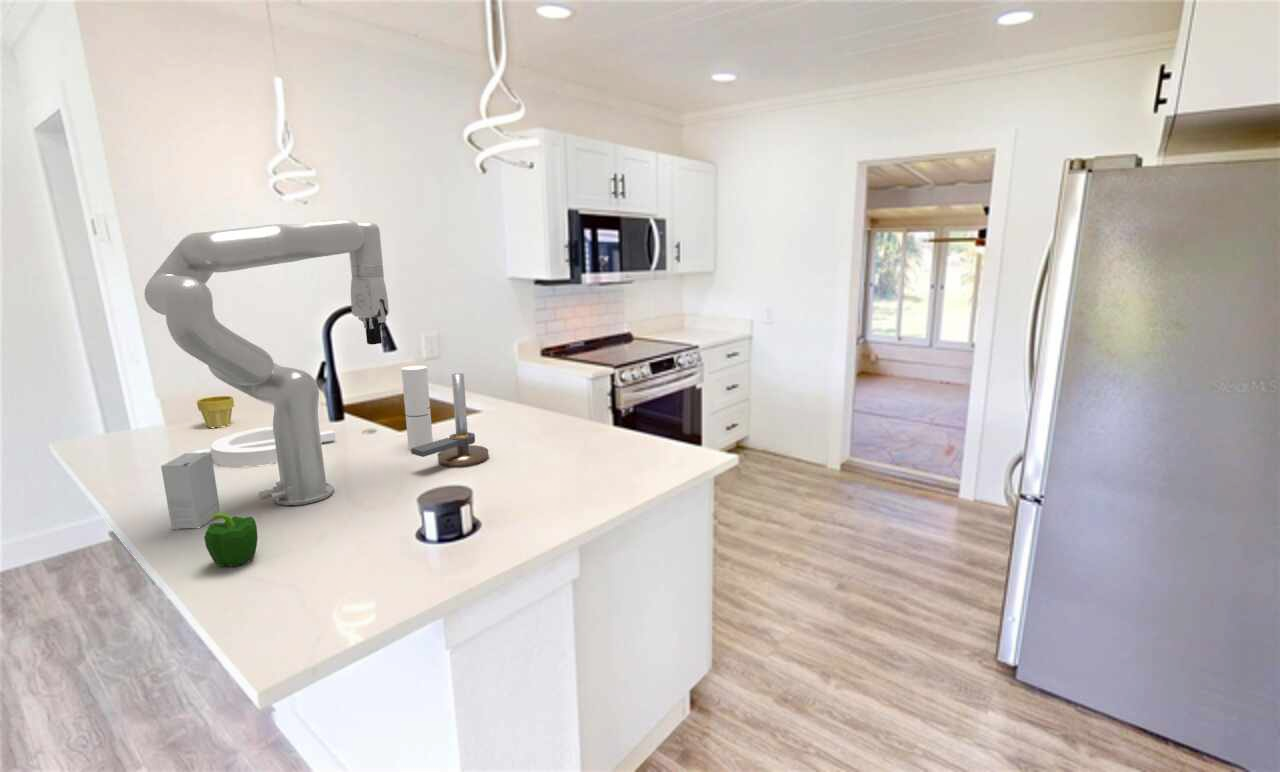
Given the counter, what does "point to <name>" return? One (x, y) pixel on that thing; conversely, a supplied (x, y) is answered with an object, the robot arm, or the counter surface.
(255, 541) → the bell pepper
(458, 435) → the pipe stand
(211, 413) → the plant pot
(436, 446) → the collar
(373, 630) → the counter surface
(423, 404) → the cylindrical container
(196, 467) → the skincare box
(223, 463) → the white circle with bar
